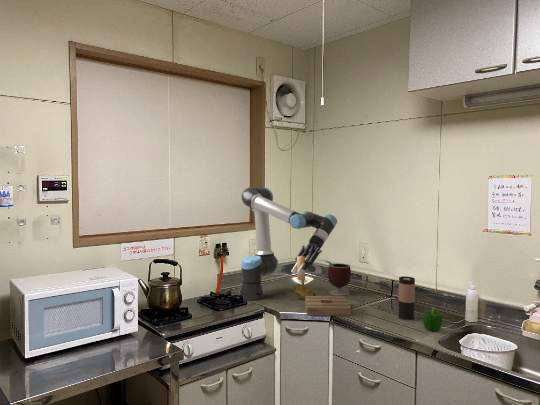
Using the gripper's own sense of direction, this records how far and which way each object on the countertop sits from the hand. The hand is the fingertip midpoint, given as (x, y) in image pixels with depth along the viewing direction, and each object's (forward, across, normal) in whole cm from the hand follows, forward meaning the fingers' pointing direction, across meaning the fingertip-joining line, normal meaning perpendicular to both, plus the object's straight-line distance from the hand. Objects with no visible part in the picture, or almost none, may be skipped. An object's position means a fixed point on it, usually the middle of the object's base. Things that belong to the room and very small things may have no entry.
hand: (295, 273), depth 216 cm
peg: (0, 0, -5) cm, 5 cm away
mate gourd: (-17, +14, -46) cm, 51 cm away
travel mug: (-11, -40, -41) cm, 59 cm away
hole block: (+3, -6, -26) cm, 27 cm away
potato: (+1, +15, -28) cm, 32 cm away
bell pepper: (-7, -58, -38) cm, 70 cm away
